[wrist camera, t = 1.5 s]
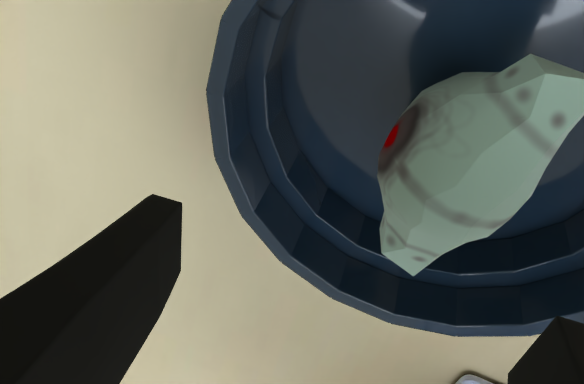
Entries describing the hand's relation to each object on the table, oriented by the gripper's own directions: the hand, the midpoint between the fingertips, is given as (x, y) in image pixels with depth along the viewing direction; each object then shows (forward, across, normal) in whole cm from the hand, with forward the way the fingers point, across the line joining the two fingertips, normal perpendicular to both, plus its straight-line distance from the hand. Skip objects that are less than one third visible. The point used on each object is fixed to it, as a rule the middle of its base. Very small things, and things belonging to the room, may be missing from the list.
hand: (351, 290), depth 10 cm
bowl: (+10, -2, +1) cm, 11 cm away
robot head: (+10, -2, +1) cm, 11 cm away
